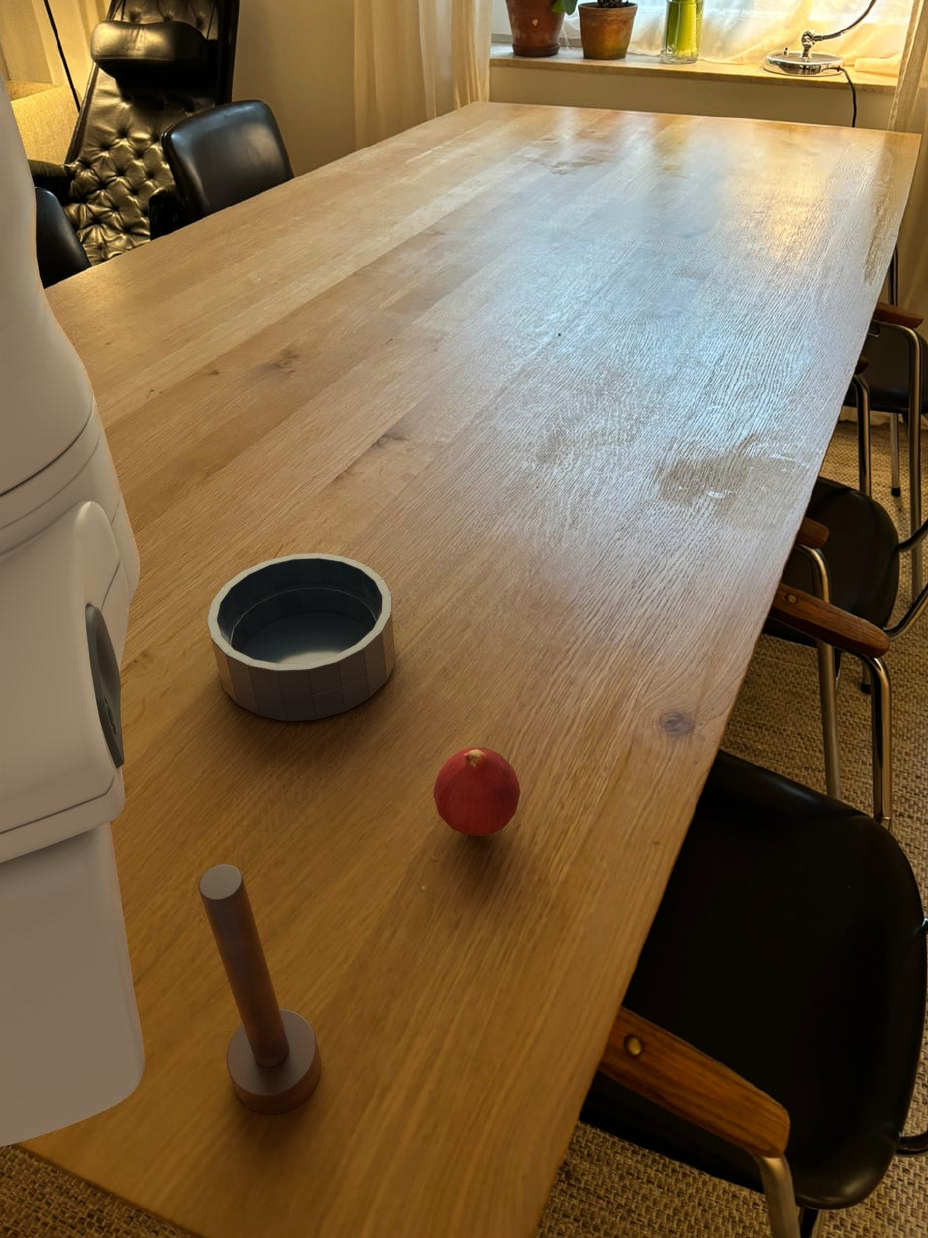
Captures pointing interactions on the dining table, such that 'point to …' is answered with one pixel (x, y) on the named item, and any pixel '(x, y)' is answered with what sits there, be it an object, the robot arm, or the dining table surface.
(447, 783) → the onion
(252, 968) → the upright rod on disc
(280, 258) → the dining table surface
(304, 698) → the bowl
